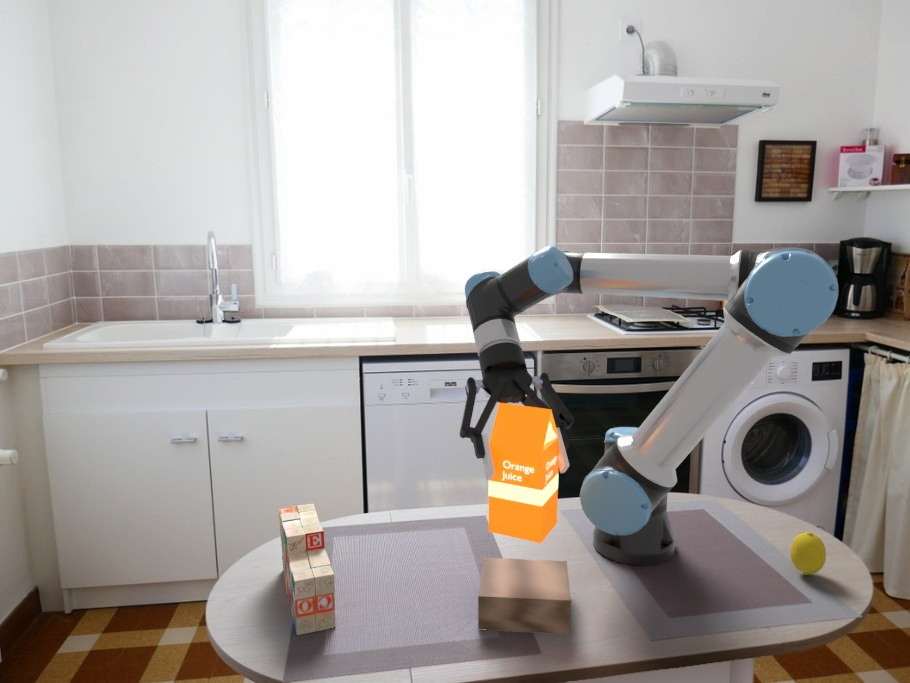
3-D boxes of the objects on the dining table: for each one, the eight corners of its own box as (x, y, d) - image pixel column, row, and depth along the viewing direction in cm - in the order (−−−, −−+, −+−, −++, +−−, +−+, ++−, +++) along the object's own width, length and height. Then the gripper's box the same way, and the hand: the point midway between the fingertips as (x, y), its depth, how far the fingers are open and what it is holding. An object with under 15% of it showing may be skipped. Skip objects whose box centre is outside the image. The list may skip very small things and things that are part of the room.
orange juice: (506, 512, 116) (508, 396, 112) (557, 522, 112) (560, 403, 108) (487, 532, 109) (488, 409, 105) (541, 544, 106) (543, 416, 102)
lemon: (822, 570, 124) (827, 528, 123) (824, 585, 119) (828, 542, 118) (788, 564, 127) (792, 522, 125) (788, 578, 122) (792, 536, 120)
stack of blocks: (337, 628, 109) (333, 555, 107) (296, 637, 107) (291, 563, 105) (317, 564, 129) (313, 501, 127) (282, 570, 127) (278, 506, 125)
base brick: (566, 593, 118) (566, 561, 117) (570, 636, 107) (570, 600, 106) (483, 590, 120) (483, 557, 119) (478, 631, 108) (478, 596, 107)
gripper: (559, 360, 124) (593, 475, 112) (428, 368, 119) (449, 490, 107) (571, 336, 118) (608, 455, 106) (434, 343, 113) (456, 469, 101)
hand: (528, 473), depth 106 cm, fingers closed on orange juice, 11 cm apart
